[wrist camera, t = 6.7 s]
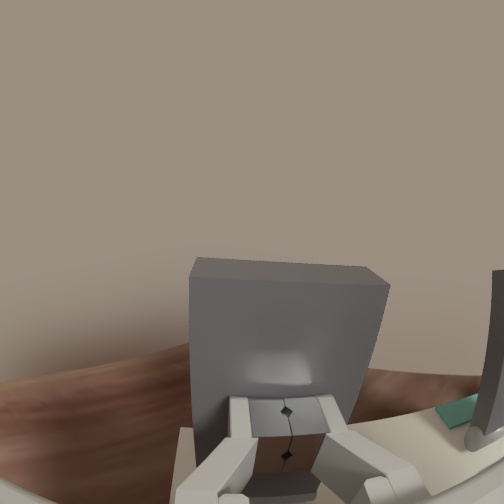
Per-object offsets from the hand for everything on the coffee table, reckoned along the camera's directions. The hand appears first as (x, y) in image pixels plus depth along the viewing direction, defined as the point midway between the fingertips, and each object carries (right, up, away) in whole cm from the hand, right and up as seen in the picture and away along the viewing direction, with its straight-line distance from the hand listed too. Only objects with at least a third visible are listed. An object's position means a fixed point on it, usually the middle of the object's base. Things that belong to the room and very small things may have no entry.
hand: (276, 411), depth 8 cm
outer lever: (-1, -6, +2) cm, 6 cm away
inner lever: (+15, -7, +4) cm, 17 cm away
